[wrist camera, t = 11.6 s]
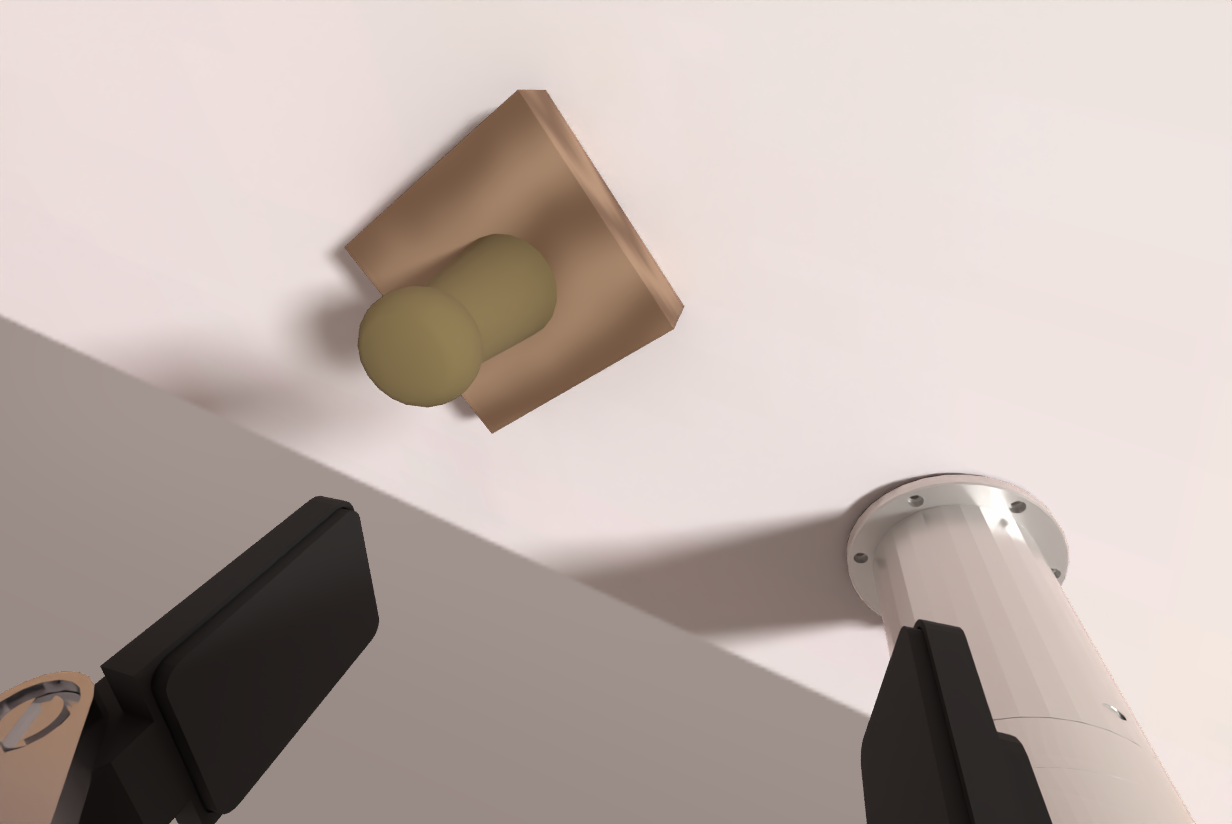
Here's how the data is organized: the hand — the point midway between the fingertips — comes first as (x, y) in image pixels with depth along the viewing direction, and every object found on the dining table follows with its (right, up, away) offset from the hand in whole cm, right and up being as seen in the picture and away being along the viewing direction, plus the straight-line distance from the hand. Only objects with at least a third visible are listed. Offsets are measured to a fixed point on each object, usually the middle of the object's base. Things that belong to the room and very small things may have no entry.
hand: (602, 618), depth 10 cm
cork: (-6, +11, +24) cm, 27 cm away
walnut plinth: (-5, +12, +27) cm, 30 cm away
